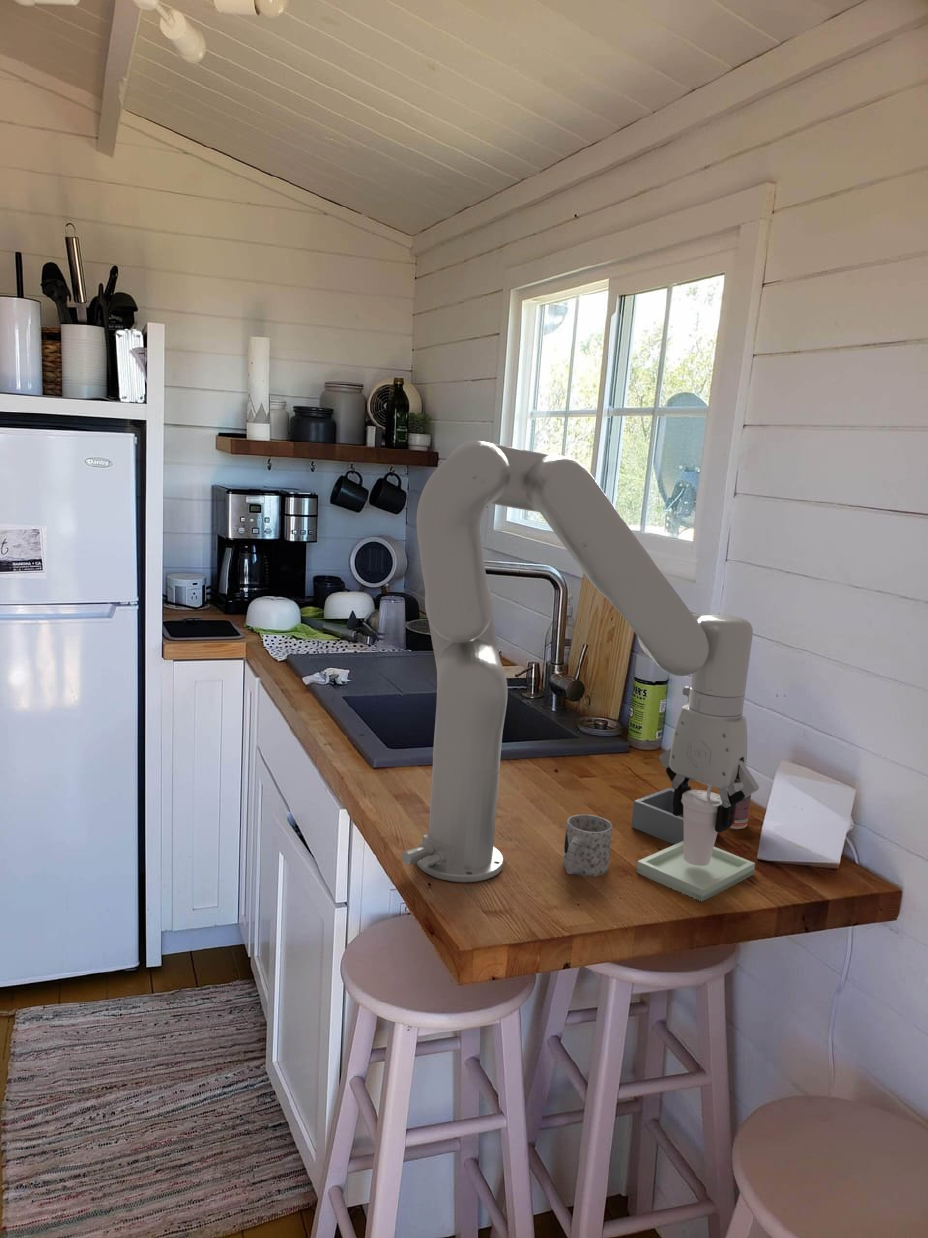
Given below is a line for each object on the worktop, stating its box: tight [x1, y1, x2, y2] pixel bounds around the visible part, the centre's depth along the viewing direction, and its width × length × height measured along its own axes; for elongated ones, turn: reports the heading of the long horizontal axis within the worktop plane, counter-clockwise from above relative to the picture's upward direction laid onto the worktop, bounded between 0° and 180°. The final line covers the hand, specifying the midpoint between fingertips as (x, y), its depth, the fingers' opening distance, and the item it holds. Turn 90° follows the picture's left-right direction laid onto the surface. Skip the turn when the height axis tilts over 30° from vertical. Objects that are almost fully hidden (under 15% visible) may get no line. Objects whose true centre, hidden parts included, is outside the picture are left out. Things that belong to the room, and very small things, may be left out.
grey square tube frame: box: [630, 787, 684, 845], centre depth 156 cm, size 10×10×4 cm
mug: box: [562, 814, 613, 877], centre depth 139 cm, size 10×7×7 cm
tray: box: [636, 841, 756, 903], centre depth 141 cm, size 14×11×2 cm
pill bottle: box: [729, 782, 752, 830], centre depth 159 cm, size 5×5×8 cm
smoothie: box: [681, 785, 722, 866], centre depth 139 cm, size 6×6×14 cm
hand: (701, 820), depth 139 cm, fingers closed on smoothie, 6 cm apart
